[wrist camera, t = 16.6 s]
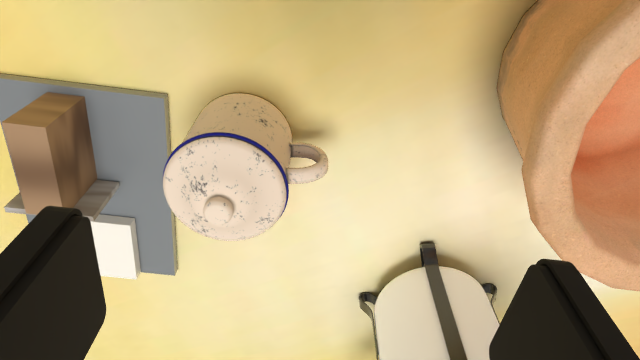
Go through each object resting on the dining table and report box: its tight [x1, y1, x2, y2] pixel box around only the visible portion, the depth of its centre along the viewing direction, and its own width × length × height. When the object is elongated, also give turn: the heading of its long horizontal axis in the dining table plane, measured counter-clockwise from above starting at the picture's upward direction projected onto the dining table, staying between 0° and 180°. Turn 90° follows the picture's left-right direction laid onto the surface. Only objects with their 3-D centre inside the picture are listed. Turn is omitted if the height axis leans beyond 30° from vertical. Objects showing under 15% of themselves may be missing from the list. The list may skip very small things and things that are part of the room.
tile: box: [90, 214, 141, 279], centre depth 44 cm, size 1×7×7 cm
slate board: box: [0, 73, 178, 275], centre depth 42 cm, size 20×14×1 cm
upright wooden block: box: [1, 92, 119, 222], centre depth 36 cm, size 8×7×6 cm
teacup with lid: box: [163, 93, 328, 241], centre depth 34 cm, size 12×9×12 cm
